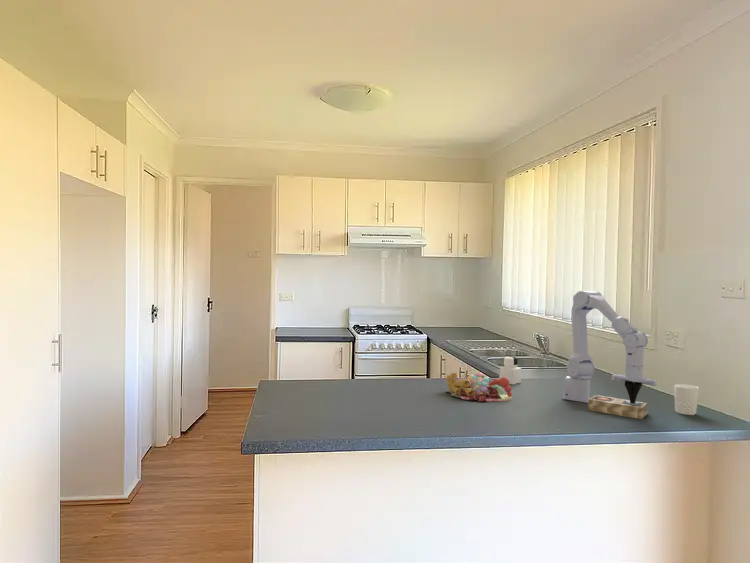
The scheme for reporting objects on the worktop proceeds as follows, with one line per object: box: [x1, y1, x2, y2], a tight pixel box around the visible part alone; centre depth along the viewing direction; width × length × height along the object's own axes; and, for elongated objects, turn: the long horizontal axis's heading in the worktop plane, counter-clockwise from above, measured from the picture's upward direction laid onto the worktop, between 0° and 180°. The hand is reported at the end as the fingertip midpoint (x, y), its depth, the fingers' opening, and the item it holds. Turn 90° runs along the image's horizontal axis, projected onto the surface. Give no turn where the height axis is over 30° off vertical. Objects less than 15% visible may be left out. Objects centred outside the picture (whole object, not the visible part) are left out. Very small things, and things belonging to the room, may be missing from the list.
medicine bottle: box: [498, 355, 522, 385], centre depth 238 cm, size 7×7×12 cm
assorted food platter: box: [445, 371, 513, 402], centre depth 210 cm, size 25×24×9 cm
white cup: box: [673, 383, 700, 416], centre depth 194 cm, size 8×8×10 cm
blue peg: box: [626, 401, 639, 406], centre depth 188 cm, size 4×4×4 cm
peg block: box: [587, 394, 648, 420], centre depth 191 cm, size 18×10×4 cm, turn 54°
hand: (632, 402), depth 188 cm, fingers closed, pressing on blue peg
